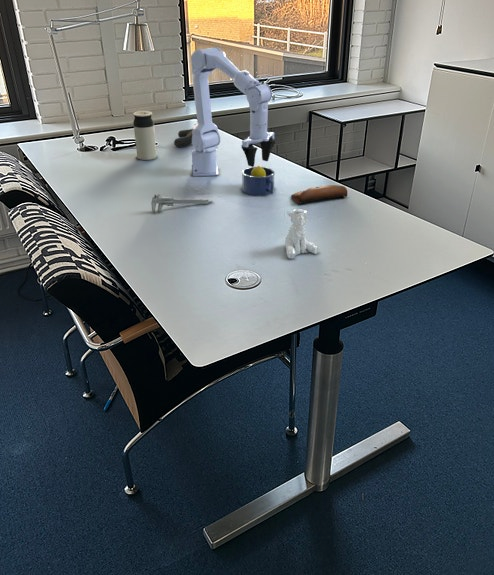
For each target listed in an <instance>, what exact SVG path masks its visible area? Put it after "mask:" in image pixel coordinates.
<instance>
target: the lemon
mask: <svg viewBox="0 0 494 575" xmlns="http://www.w3.org/2000/svg"><path fill="white" fill-rule="evenodd" d="M254 167H255V168H254V169H253V170H252V172H251V176H253V177H265V176H266V173H265V170H264V169H263V168H262V167H263V166H260V165H257V166H254Z"/></svg>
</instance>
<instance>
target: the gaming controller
mask: <svg viewBox="0 0 494 575" xmlns="http://www.w3.org/2000/svg"><path fill="white" fill-rule="evenodd" d="M194 128H195V127H193V128H190V129H182V130H178V133H177V136H178V138H175V139H174V142H173V145H174V146H175V147H176V148H183V147H187V146H190V145H192V136H193V132H192V130H193V129H194Z"/></svg>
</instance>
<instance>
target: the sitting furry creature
mask: <svg viewBox="0 0 494 575" xmlns="http://www.w3.org/2000/svg"><path fill="white" fill-rule="evenodd" d="M307 212H308V210H304V209H301V208H299V209H294V210H292V212H291V211H287V213H286V214H287V216H288V217H290V222H291V225H290V226H289V229H288V233H287V235H286V236H285V240H284V244H285V250H286V252H285V253H286V256H287V258H288V259H291V260H293V259H294V258H295V257H296V256H298V255H300V254H308V253H311V254H314V255H317V254H318V253H319V247H318V246H317V245H316V244H315V243H314V242H312V241H308V240H307V239H306V234H307V232H306V231H307V230H306V229H305V227H306V226H305V225H306V223H308V215H307Z"/></svg>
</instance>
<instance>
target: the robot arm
mask: <svg viewBox="0 0 494 575" xmlns="http://www.w3.org/2000/svg"><path fill="white" fill-rule="evenodd" d="M190 64H191V79H192V87H193V96H194V104H195V105H194V106H195V113H196V125H195V126H194V127H193V128H194V129H193V128H192V129H193V130H192V132H193V136H192V144H191V145H192V147H193V149H192V150H191V170H192V176H193V177H205V176H206V177H207V176H208V177H210V176H212V177H213V176H219V168H218V166H217V165H218V164H217V160H218V159H217V150H218V147H219V145H220V144H221V135H220V133H219V128H218V126H217V125H216V124H215V123H213V115H212V106H211V96H210V85H209V76H210V75H211V74H212V73H213V71H215V70H216V69H218V70H219V71H221V72H222V73H223V74H225V75H226V76H228V77H229V78H230V79H232V80H233V85H234V86H235V87H236V88H237V89H238V90H239V91H240V92H241V93H242V94H244V95H245V97H246V99H247V102H248V108H249V110H250V111H249V112H250V113H249V114H250V118H249V119H250V120H249V123H250V124H249V129H250V130H249V136H247V137H246V138H245V139H243V140H241V145H240V146H241V149H242V151H243V154H244V155H245V158H246V163H247V166H248V167H255V162H256V154H257V150H258V147H256V146H254V145H256V144H259V143H260V148H261V160H262V161H264V162H269V159H270V156H271V152H272V150H273V147H274V146H275V144H276V140H275V132H273V131H268V115H269V113H268V112H269V102H270V101H271V100H272V97H273V91H272V88H271V86H269V84H267V83H261V82H260V81H259V80H258V79H255V77H253V76H252V75H251V74H250V72H249V71H248V70H240V69H239V68H237V67H236V65H235V64H234V63H233V62H231V61H230V59H229V58H228V57H227V56H226V53H225V51H223V50H222V49H221V48H220V47H218V46H214V47H208V48H202V49H200V48H198V49H195V50H194V51H193V52H192V54H191V55H190Z"/></svg>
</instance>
